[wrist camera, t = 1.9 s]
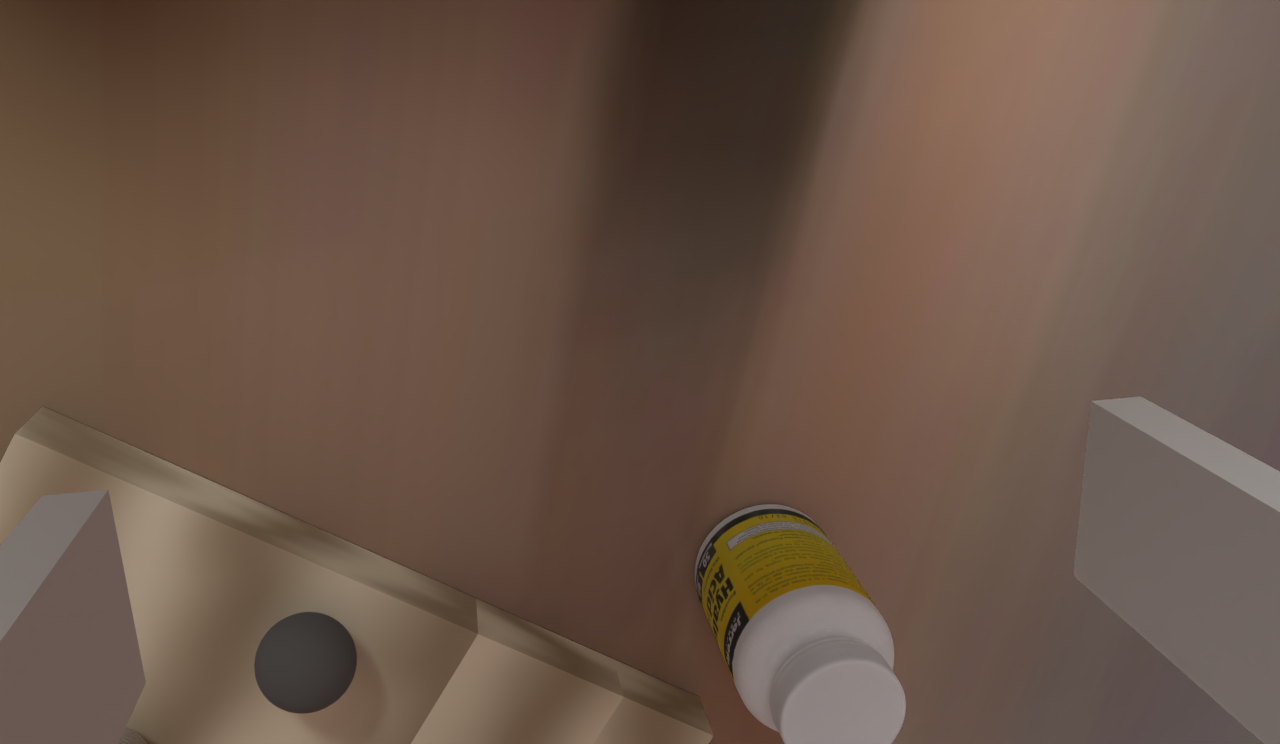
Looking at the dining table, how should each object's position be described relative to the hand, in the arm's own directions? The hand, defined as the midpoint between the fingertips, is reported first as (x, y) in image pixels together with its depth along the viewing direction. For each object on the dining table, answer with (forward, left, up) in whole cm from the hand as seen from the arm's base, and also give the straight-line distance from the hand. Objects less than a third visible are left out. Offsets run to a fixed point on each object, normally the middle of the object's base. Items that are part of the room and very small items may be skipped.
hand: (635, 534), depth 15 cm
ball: (0, -15, -19) cm, 25 cm away
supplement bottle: (+14, -7, -24) cm, 29 cm away
